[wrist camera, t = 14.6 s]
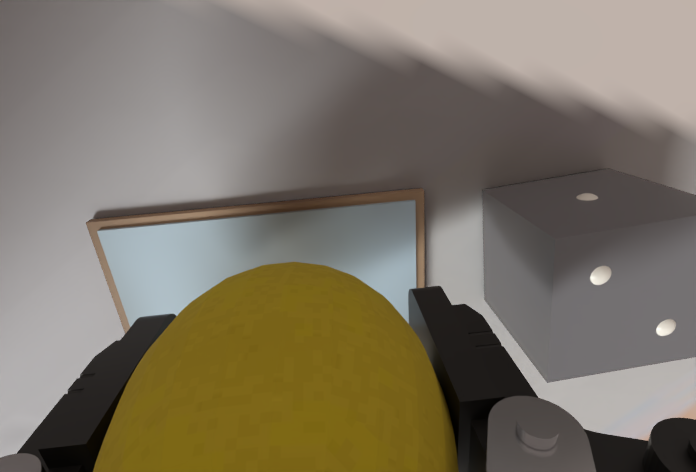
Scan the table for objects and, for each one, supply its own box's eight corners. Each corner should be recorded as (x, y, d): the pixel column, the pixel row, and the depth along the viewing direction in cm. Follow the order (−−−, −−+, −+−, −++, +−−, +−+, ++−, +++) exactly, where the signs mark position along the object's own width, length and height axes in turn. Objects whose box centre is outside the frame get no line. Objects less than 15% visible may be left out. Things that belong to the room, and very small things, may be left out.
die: (549, 385, 10) (558, 236, 8) (483, 297, 14) (480, 185, 12) (709, 357, 10) (748, 204, 8) (597, 278, 14) (609, 164, 12)
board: (173, 456, 15) (170, 465, 15) (91, 219, 12) (83, 224, 11) (422, 426, 16) (425, 435, 15) (421, 188, 12) (425, 192, 12)
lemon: (232, 175, 9) (-167, 615, 2) (437, 257, 10) (744, 727, 3) (171, 355, 11) (-153, 952, 3) (351, 407, 12) (401, 938, 5)
